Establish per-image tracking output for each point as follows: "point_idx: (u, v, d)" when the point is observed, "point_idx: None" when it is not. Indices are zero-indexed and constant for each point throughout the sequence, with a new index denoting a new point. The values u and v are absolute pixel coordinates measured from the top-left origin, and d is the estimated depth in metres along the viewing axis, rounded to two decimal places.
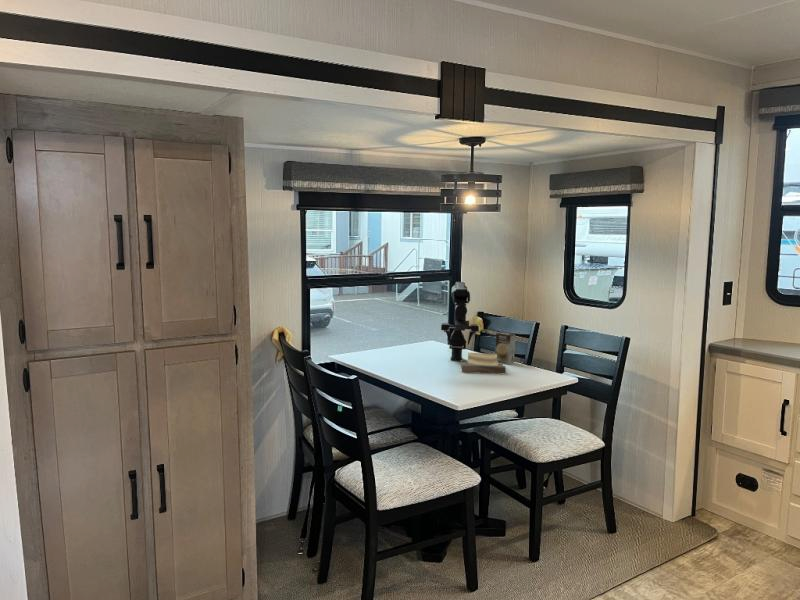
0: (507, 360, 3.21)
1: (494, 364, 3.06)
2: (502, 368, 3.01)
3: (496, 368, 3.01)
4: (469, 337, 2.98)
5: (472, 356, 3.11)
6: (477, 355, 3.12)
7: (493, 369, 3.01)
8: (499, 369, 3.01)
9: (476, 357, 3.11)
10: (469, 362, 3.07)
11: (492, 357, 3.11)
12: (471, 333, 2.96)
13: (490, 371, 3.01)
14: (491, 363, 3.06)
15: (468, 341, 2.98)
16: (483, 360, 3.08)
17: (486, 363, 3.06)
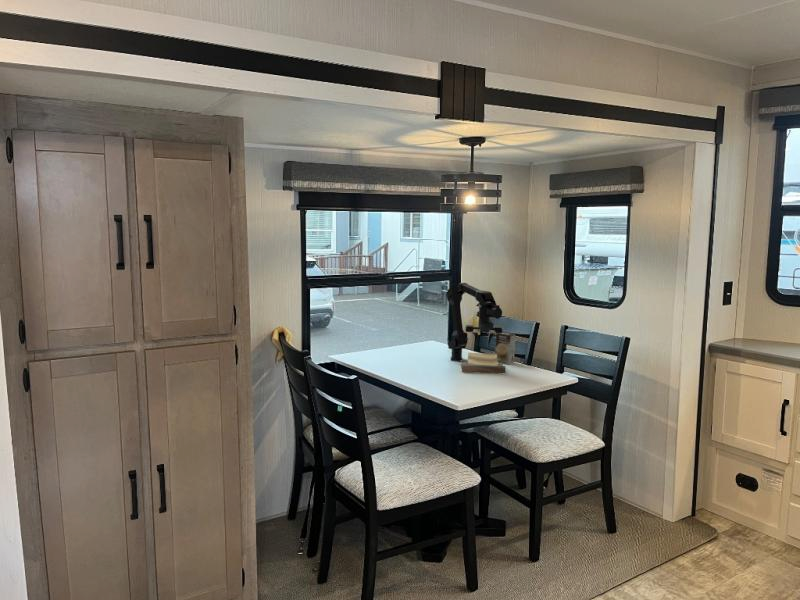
0: (507, 360, 3.21)
1: (494, 364, 3.06)
2: (502, 368, 3.01)
3: (496, 368, 3.01)
4: (489, 338, 3.09)
5: (472, 356, 3.11)
6: (477, 355, 3.12)
7: (493, 369, 3.01)
8: (499, 369, 3.01)
9: (476, 357, 3.11)
10: (469, 362, 3.07)
11: (492, 357, 3.11)
12: (491, 334, 3.07)
13: (490, 371, 3.01)
14: (491, 363, 3.06)
15: (488, 342, 3.10)
16: (483, 360, 3.08)
17: (486, 363, 3.06)
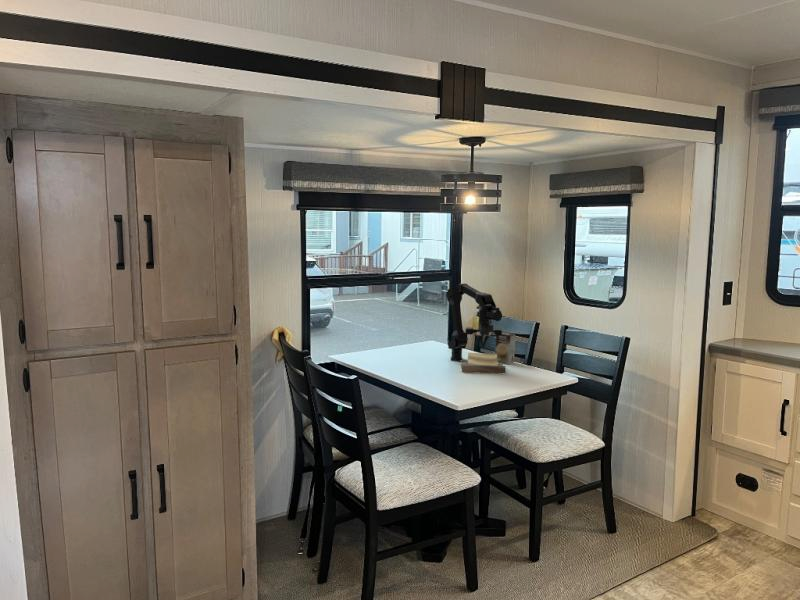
0: (507, 360, 3.21)
1: (494, 364, 3.06)
2: (502, 368, 3.01)
3: (496, 368, 3.01)
4: (484, 341, 3.09)
5: (472, 356, 3.11)
6: (477, 355, 3.12)
7: (493, 369, 3.01)
8: (499, 369, 3.01)
9: (476, 357, 3.11)
10: (469, 362, 3.07)
11: (492, 357, 3.11)
12: (486, 337, 3.08)
13: (490, 371, 3.01)
14: (491, 363, 3.06)
15: (483, 344, 3.10)
16: (483, 360, 3.08)
17: (486, 363, 3.06)
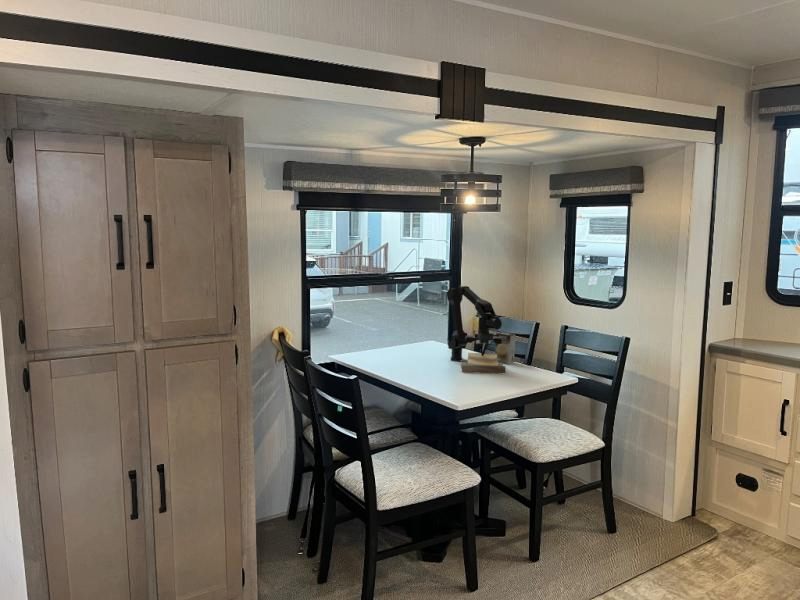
0: (507, 360, 3.21)
1: (494, 364, 3.06)
2: (502, 368, 3.01)
3: (496, 368, 3.01)
4: (484, 349, 3.10)
5: (472, 356, 3.12)
6: (477, 355, 3.12)
7: (493, 369, 3.01)
8: (499, 369, 3.01)
9: (475, 357, 3.11)
10: (469, 362, 3.07)
11: (492, 357, 3.11)
12: (486, 345, 3.08)
13: (490, 371, 3.01)
14: (491, 363, 3.06)
15: (483, 353, 3.11)
16: (483, 360, 3.08)
17: (486, 363, 3.06)
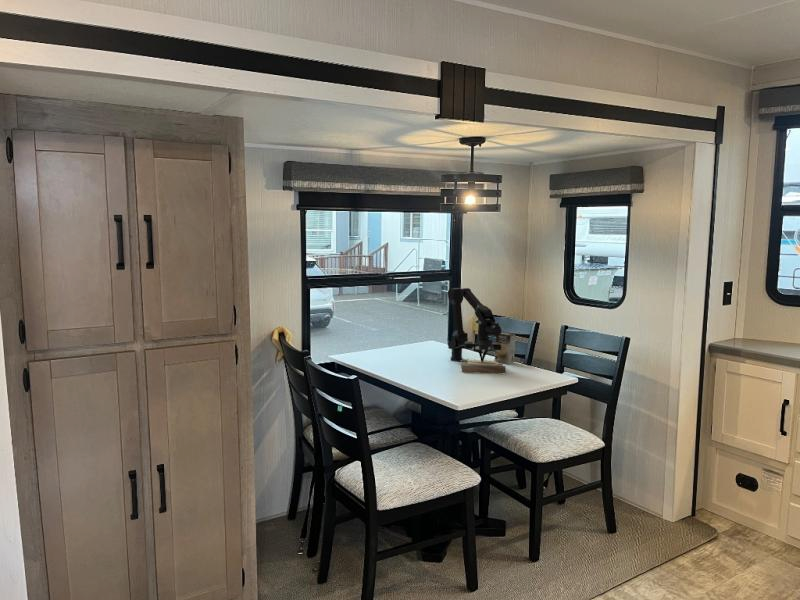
0: (507, 360, 3.21)
1: (494, 364, 3.06)
2: (502, 368, 3.01)
3: (496, 368, 3.01)
4: (483, 355, 3.11)
5: (472, 361, 3.13)
6: (477, 360, 3.14)
7: (493, 369, 3.01)
8: (499, 369, 3.01)
9: (475, 361, 3.12)
10: (469, 363, 3.08)
11: (492, 362, 3.12)
12: (485, 351, 3.10)
13: (490, 371, 3.01)
14: (491, 364, 3.07)
15: (482, 358, 3.12)
16: (483, 363, 3.10)
17: (486, 364, 3.07)
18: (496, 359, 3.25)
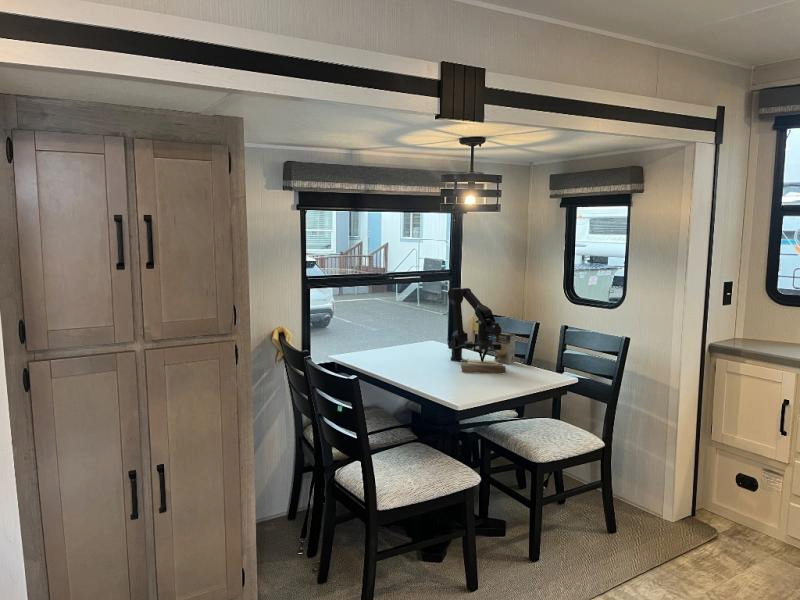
0: (507, 360, 3.21)
1: (494, 364, 3.06)
2: (502, 368, 3.01)
3: (496, 368, 3.01)
4: (483, 355, 3.11)
5: (472, 361, 3.13)
6: (477, 360, 3.14)
7: (493, 369, 3.01)
8: (499, 369, 3.01)
9: (475, 361, 3.12)
10: (469, 363, 3.08)
11: (492, 362, 3.12)
12: (485, 351, 3.10)
13: (490, 371, 3.01)
14: (491, 364, 3.07)
15: (482, 358, 3.12)
16: (483, 363, 3.10)
17: (486, 364, 3.07)
18: (496, 359, 3.25)
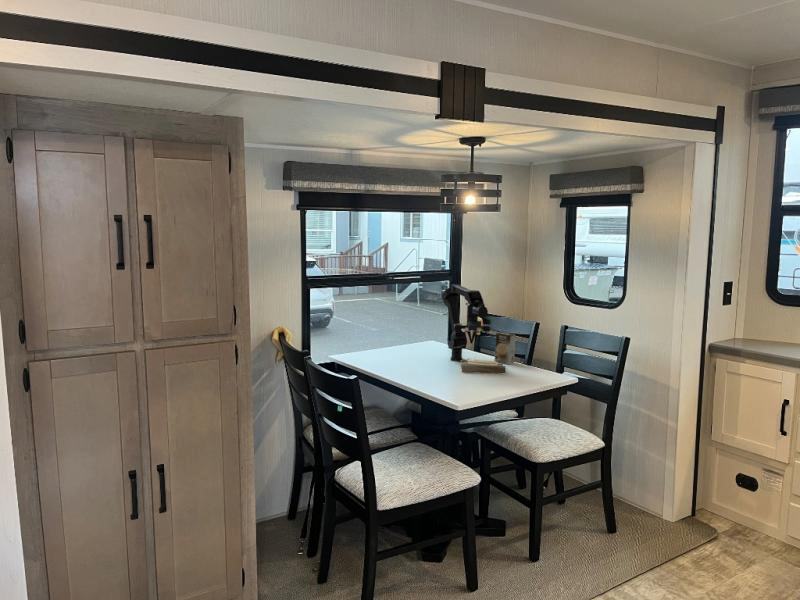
0: (507, 360, 3.21)
1: (494, 364, 3.06)
2: (502, 368, 3.01)
3: (496, 368, 3.01)
4: (472, 336, 3.13)
5: (472, 361, 3.13)
6: (477, 360, 3.14)
7: (493, 369, 3.01)
8: (499, 369, 3.01)
9: (475, 361, 3.12)
10: (469, 363, 3.08)
11: (492, 362, 3.12)
12: (474, 333, 3.11)
13: (490, 371, 3.01)
14: (491, 364, 3.07)
15: (471, 340, 3.14)
16: (483, 363, 3.10)
17: (486, 364, 3.07)
18: (496, 359, 3.25)
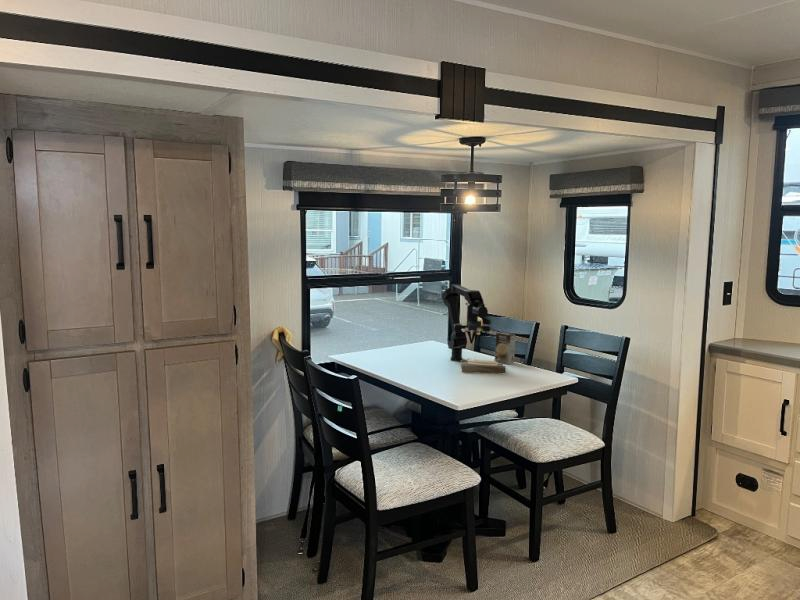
0: (507, 360, 3.21)
1: (494, 364, 3.06)
2: (502, 368, 3.01)
3: (496, 368, 3.01)
4: (472, 336, 3.13)
5: (472, 361, 3.13)
6: (477, 360, 3.14)
7: (493, 369, 3.01)
8: (499, 369, 3.01)
9: (475, 361, 3.12)
10: (469, 363, 3.08)
11: (492, 362, 3.12)
12: (474, 333, 3.11)
13: (490, 371, 3.01)
14: (491, 364, 3.07)
15: (471, 340, 3.14)
16: (483, 363, 3.10)
17: (486, 364, 3.07)
18: (496, 359, 3.25)
